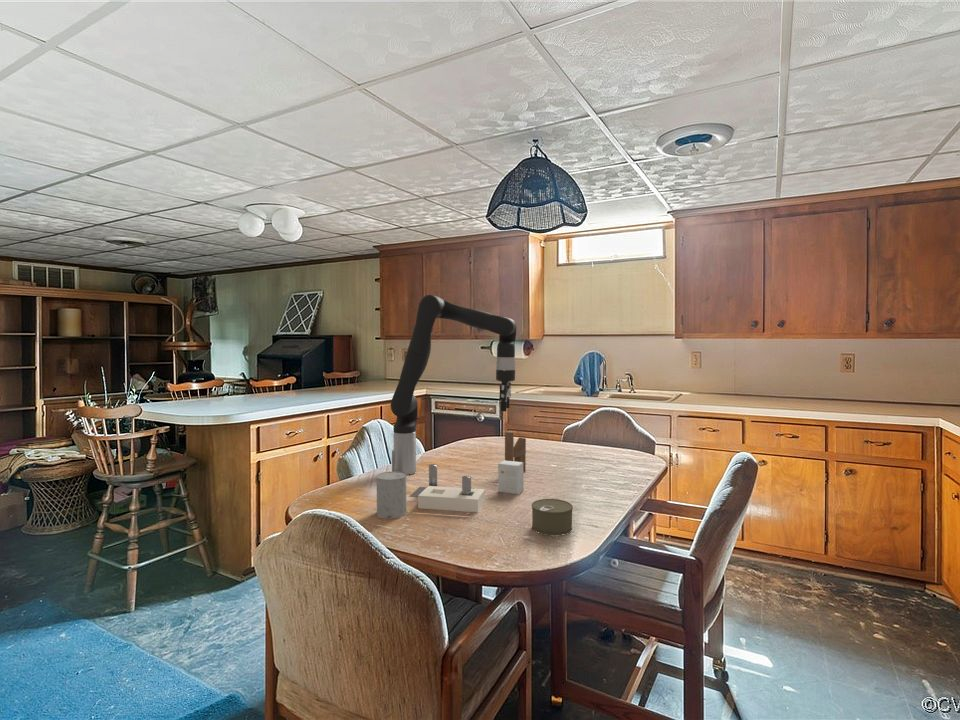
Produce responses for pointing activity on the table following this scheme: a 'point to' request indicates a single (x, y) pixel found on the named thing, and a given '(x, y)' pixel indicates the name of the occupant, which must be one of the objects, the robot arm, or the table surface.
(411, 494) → the mat
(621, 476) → the table surface
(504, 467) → the small box
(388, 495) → the grey concrete cylinder
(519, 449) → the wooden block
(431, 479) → the steel pin
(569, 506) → the can
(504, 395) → the robot arm
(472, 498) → the bore block
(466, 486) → the seated pin
